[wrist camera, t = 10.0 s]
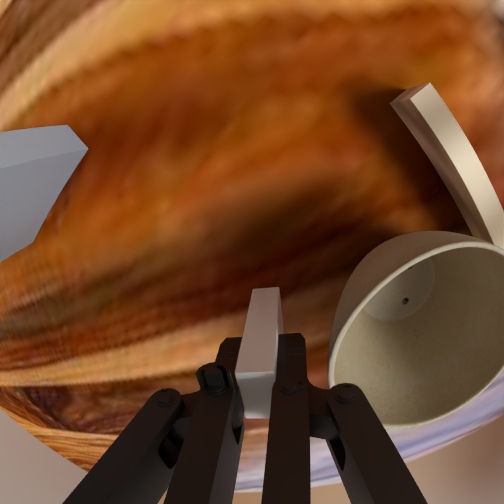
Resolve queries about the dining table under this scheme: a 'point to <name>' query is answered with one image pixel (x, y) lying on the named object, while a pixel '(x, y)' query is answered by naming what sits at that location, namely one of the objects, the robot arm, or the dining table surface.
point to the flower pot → (421, 326)
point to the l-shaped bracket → (453, 160)
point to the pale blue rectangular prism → (33, 180)
